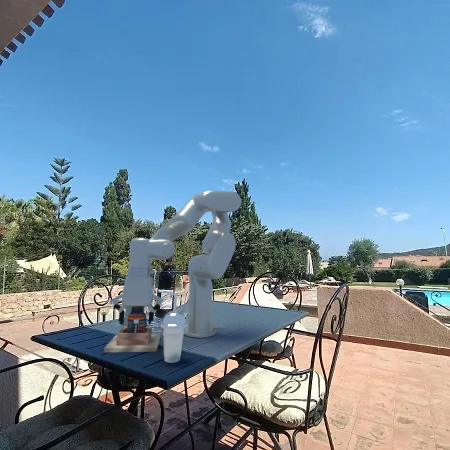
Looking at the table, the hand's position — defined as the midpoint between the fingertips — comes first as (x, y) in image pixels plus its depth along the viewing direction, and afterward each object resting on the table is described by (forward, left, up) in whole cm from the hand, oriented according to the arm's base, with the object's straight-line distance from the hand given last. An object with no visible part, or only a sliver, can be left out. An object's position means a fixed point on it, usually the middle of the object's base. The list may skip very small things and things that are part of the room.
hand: (136, 323), depth 96 cm
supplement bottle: (0, 0, -6) cm, 6 cm away
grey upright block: (+5, -29, -7) cm, 30 cm away
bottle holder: (0, 0, -7) cm, 7 cm away
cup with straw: (-13, +16, -7) cm, 22 cm away
